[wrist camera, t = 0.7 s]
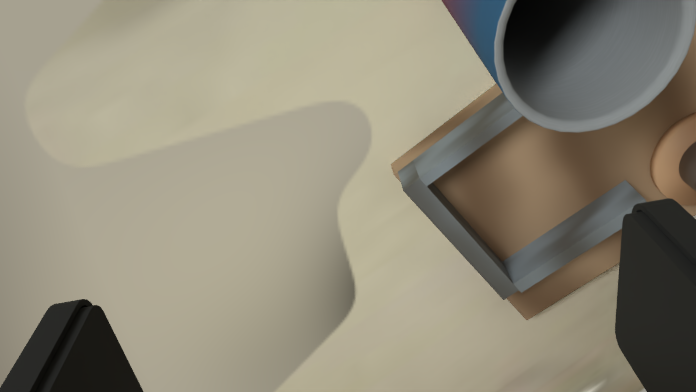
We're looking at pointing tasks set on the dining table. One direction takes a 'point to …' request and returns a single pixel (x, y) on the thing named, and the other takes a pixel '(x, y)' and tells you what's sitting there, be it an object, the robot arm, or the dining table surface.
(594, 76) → the cup
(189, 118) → the dining table surface
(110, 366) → the robot arm
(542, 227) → the board
